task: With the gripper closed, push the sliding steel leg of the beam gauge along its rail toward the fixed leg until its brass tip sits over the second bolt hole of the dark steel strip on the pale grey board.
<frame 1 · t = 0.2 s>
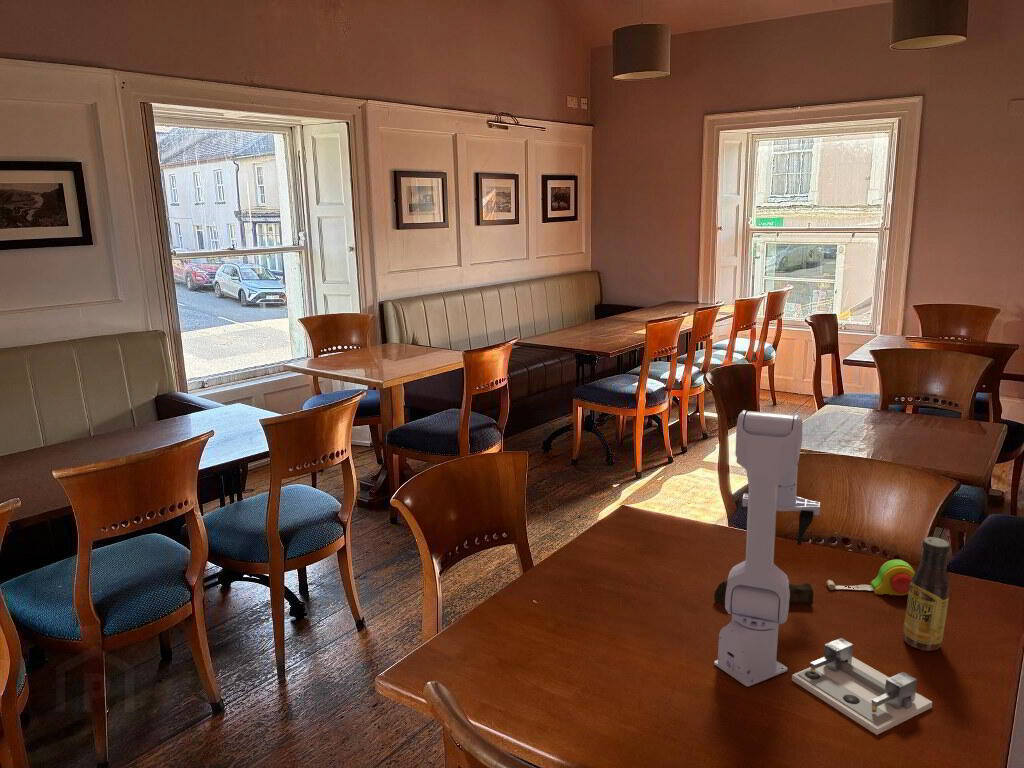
hand: (779, 539, 158), 11 cm above the table, tool pointing down, fingers open, 7 cm apart
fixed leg: (836, 671, 131), resting on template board
hand tool: (763, 605, 155), on the table
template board: (859, 693, 125), on the table
toy measuring tape: (877, 591, 159), on the table
sliding leg: (891, 694, 120), point 3 cm above the table, slide at 0.0 cm
sauce bottle: (922, 645, 139), on the table
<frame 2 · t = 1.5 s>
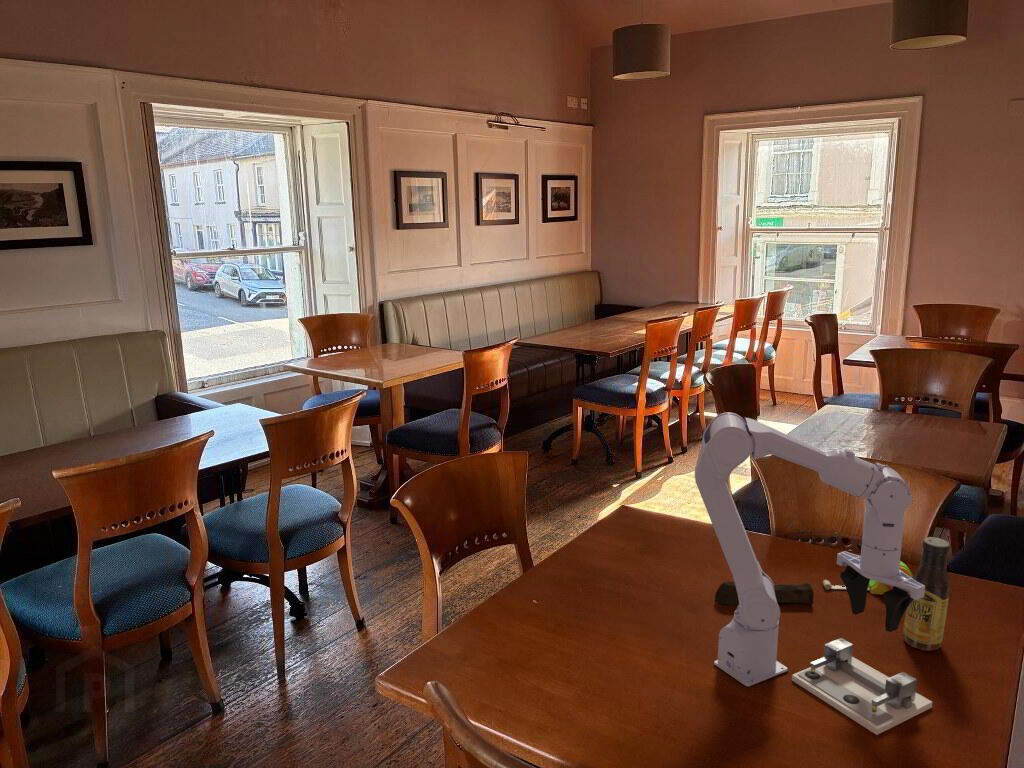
hand: (874, 620, 127), 10 cm above the table, tool pointing down, fingers open, 6 cm apart
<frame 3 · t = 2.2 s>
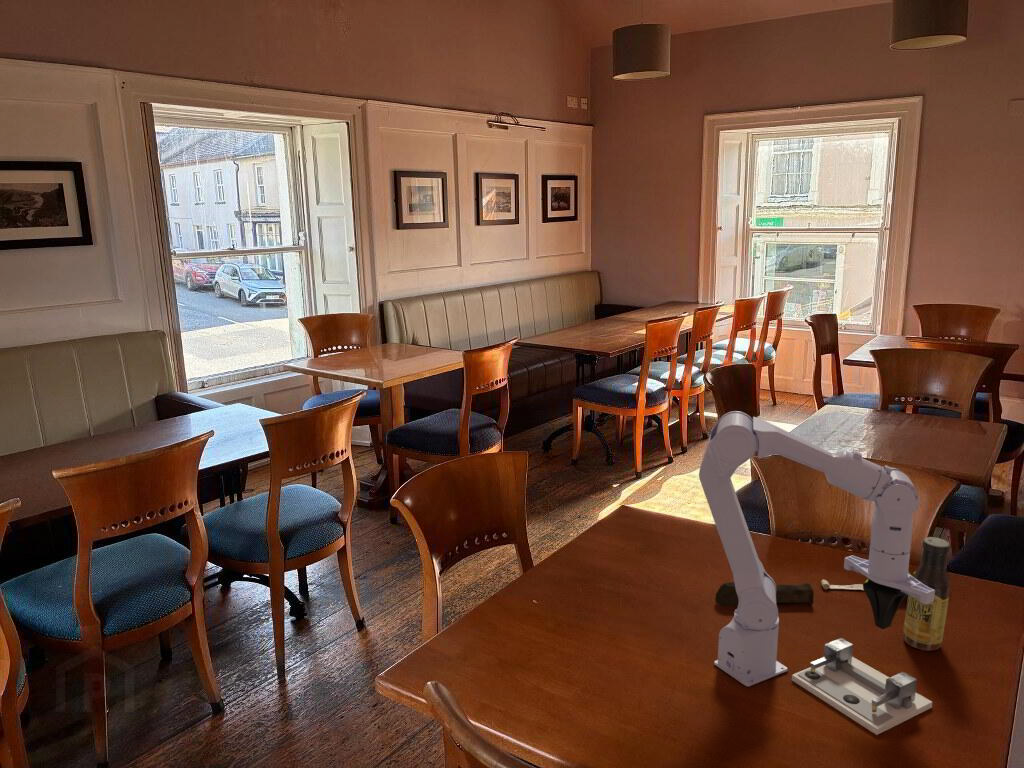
hand: (883, 625, 125), 10 cm above the table, tool pointing down, fingers closed
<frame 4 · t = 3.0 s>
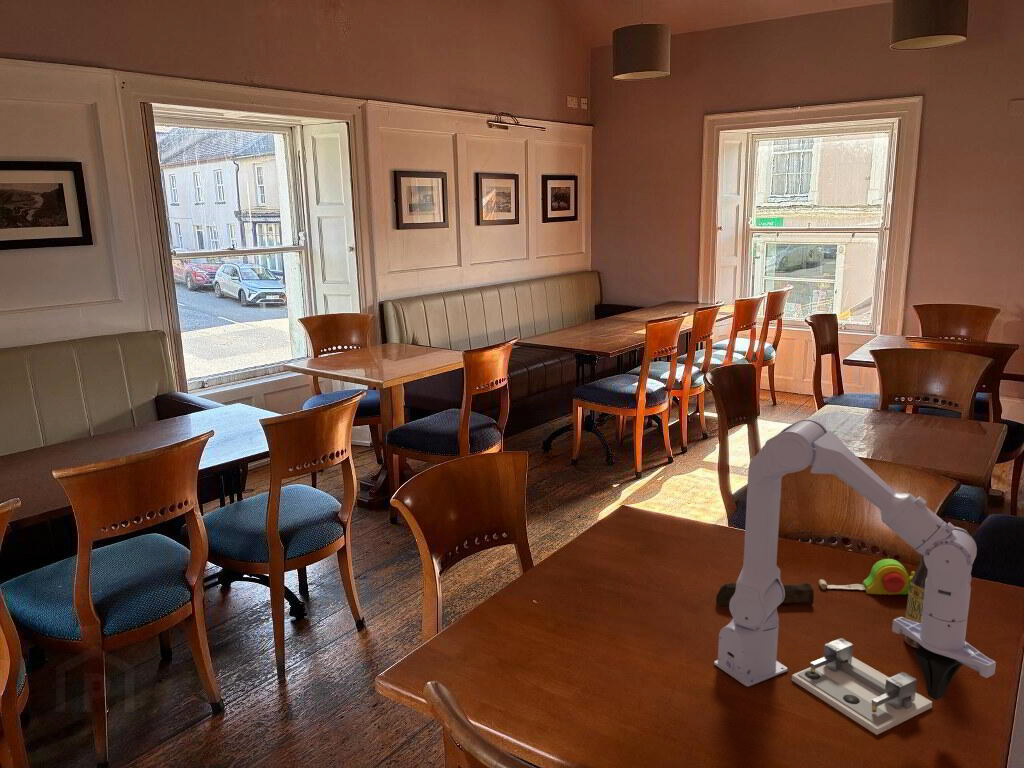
hand: (936, 695, 116), 5 cm above the table, tool pointing down, fingers closed
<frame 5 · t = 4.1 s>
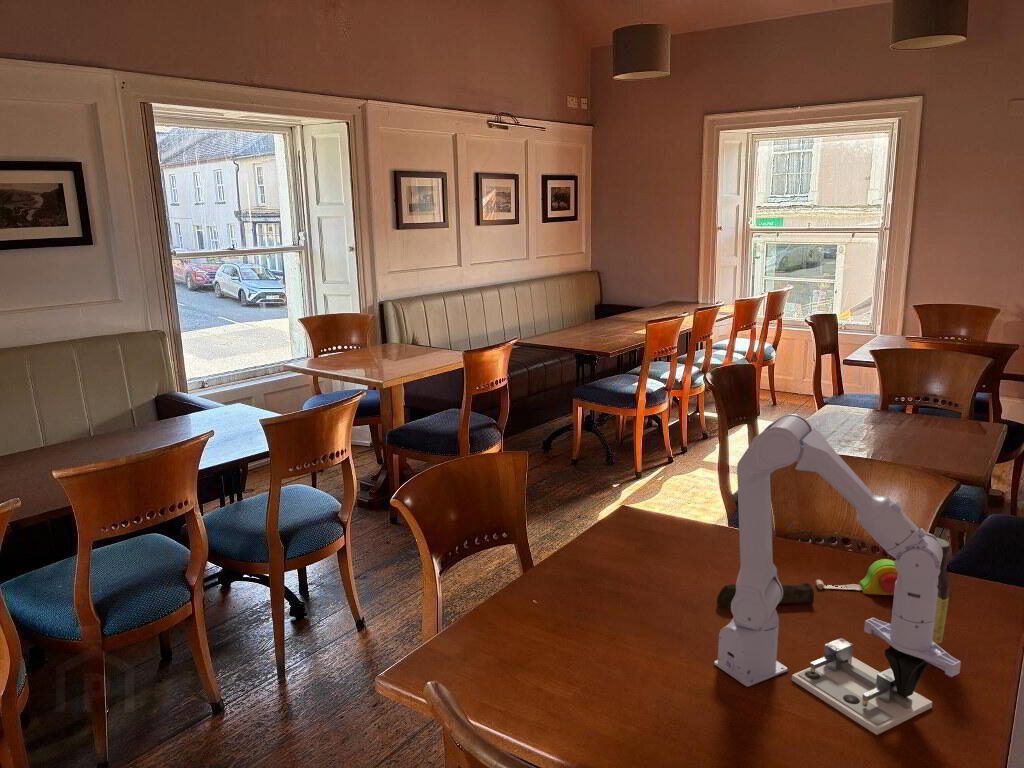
hand: (905, 693, 120), 3 cm above the table, tool pointing down, fingers closed
sliding leg: (882, 688, 121), point 3 cm above the table, slide at 1.6 cm, touching gripper
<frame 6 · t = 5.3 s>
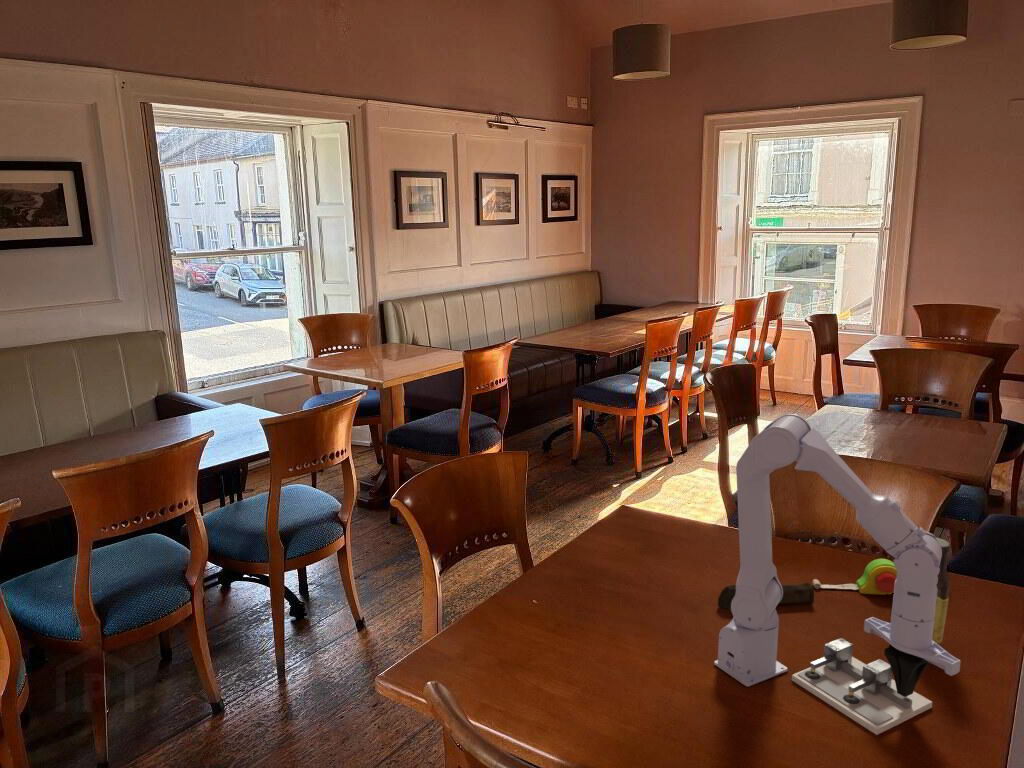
hand: (904, 693, 120), 3 cm above the table, tool pointing down, fingers closed
sliding leg: (867, 680, 123), point 3 cm above the table, slide at 4.1 cm
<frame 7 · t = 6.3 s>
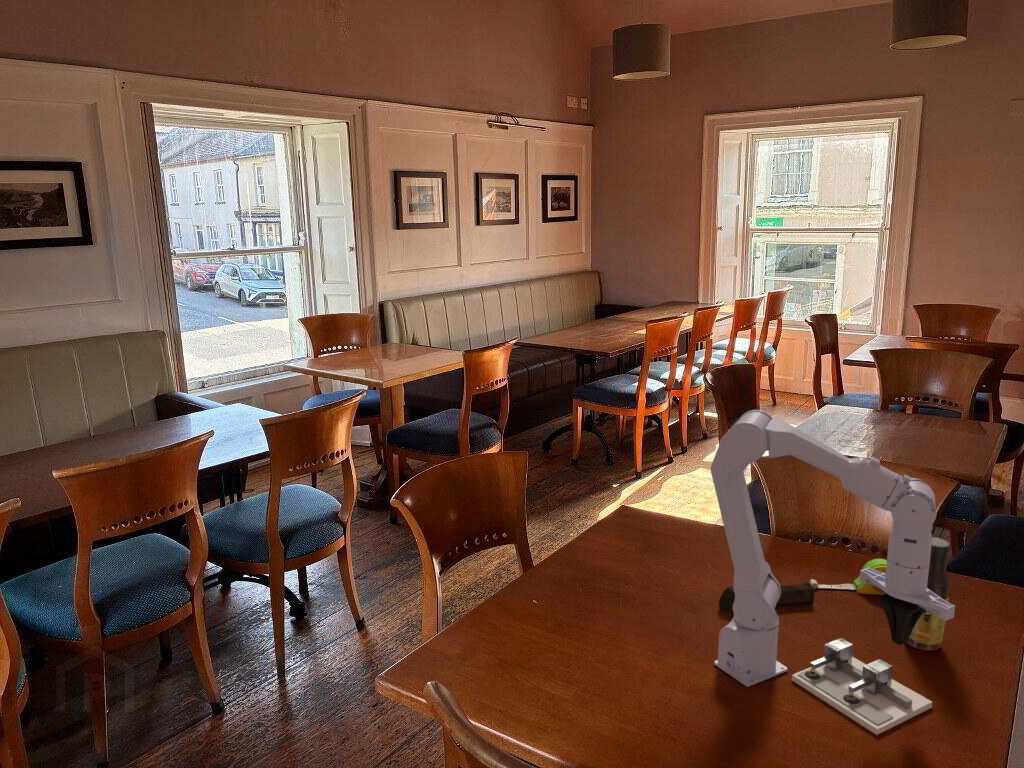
hand: (900, 641, 121), 10 cm above the table, tool pointing down, fingers closed
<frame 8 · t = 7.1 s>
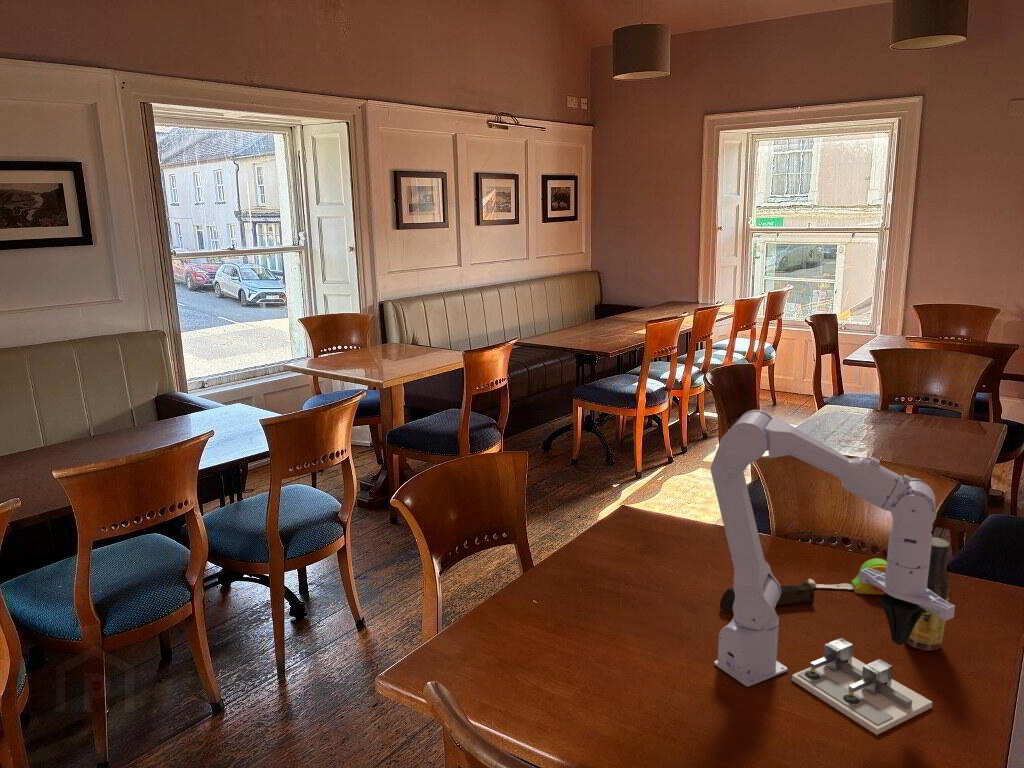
hand: (900, 641, 121), 10 cm above the table, tool pointing down, fingers closed
at the end: sliding leg slide at 4.1 cm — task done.
